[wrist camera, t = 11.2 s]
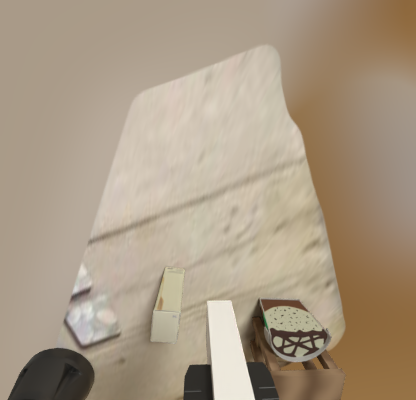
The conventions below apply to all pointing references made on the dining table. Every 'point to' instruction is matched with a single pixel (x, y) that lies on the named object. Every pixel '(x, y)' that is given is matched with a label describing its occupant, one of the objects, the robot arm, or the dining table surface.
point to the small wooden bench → (298, 372)
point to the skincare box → (168, 307)
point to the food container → (293, 329)
